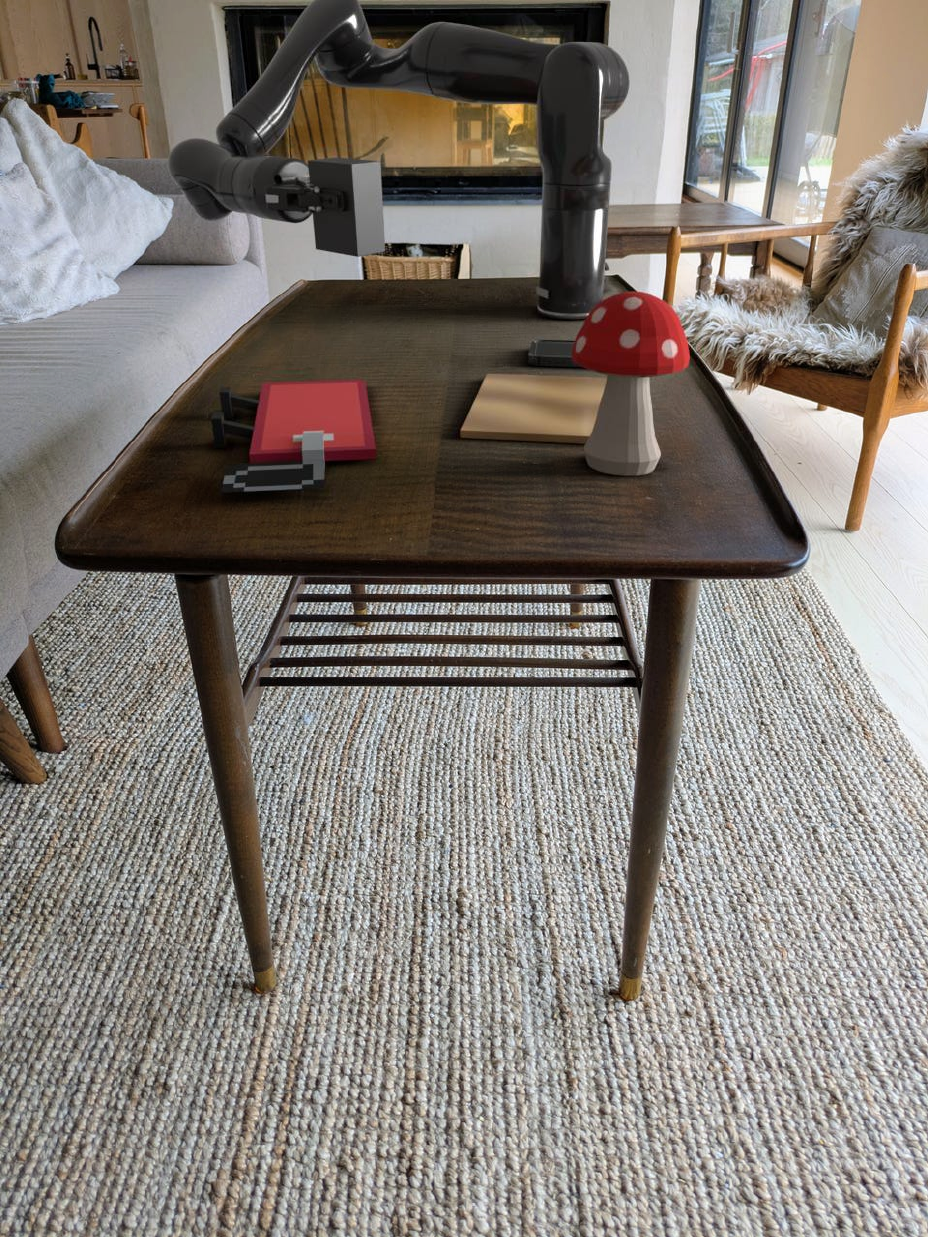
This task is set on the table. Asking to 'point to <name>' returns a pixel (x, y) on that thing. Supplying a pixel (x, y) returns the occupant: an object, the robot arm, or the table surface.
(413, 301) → the table surface
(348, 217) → the tall charcoal box
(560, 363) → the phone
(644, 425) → the decorative mushroom
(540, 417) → the wooden board
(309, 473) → the red board with handle
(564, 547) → the table surface
